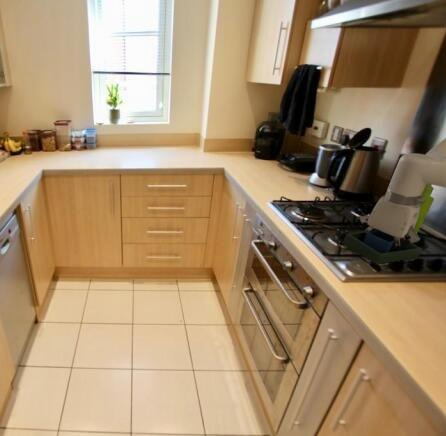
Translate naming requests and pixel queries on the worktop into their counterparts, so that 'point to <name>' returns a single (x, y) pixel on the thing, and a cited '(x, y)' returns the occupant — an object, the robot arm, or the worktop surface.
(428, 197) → the soap dispenser
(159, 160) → the worktop surface
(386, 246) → the small bin
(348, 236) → the big bin
